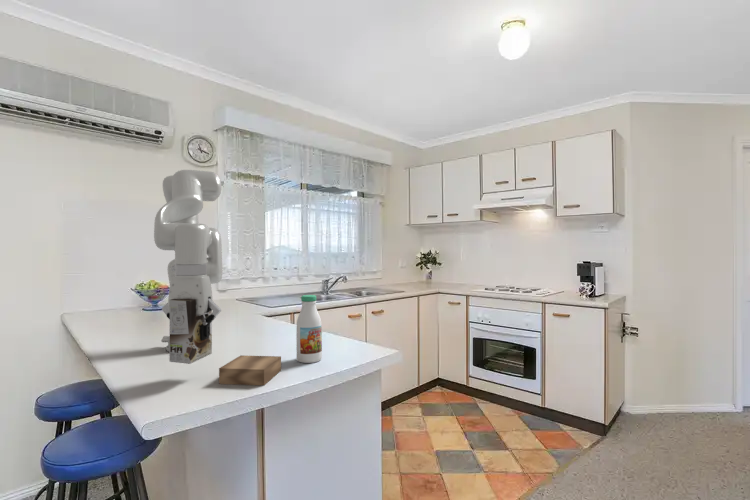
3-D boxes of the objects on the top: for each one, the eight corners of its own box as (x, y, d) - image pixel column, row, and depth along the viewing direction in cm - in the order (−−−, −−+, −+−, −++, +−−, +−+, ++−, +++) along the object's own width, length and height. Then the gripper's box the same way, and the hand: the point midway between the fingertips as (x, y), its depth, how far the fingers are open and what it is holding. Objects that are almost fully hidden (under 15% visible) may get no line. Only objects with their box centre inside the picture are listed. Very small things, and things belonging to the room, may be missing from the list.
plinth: (219, 383, 99) (219, 368, 99) (240, 369, 111) (240, 355, 111) (264, 385, 98) (264, 369, 98) (281, 370, 110) (281, 356, 110)
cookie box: (190, 364, 97) (190, 300, 96) (168, 362, 98) (168, 299, 98) (213, 353, 106) (212, 294, 105) (192, 351, 107) (192, 293, 107)
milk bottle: (291, 362, 118) (291, 296, 118) (304, 355, 125) (304, 293, 125) (314, 364, 115) (313, 297, 115) (326, 357, 122) (325, 294, 122)
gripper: (150, 271, 98) (151, 340, 99) (215, 273, 96) (215, 344, 97) (169, 268, 106) (169, 333, 107) (229, 270, 104) (229, 336, 105)
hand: (191, 337), depth 102 cm, fingers closed on cookie box, 6 cm apart
